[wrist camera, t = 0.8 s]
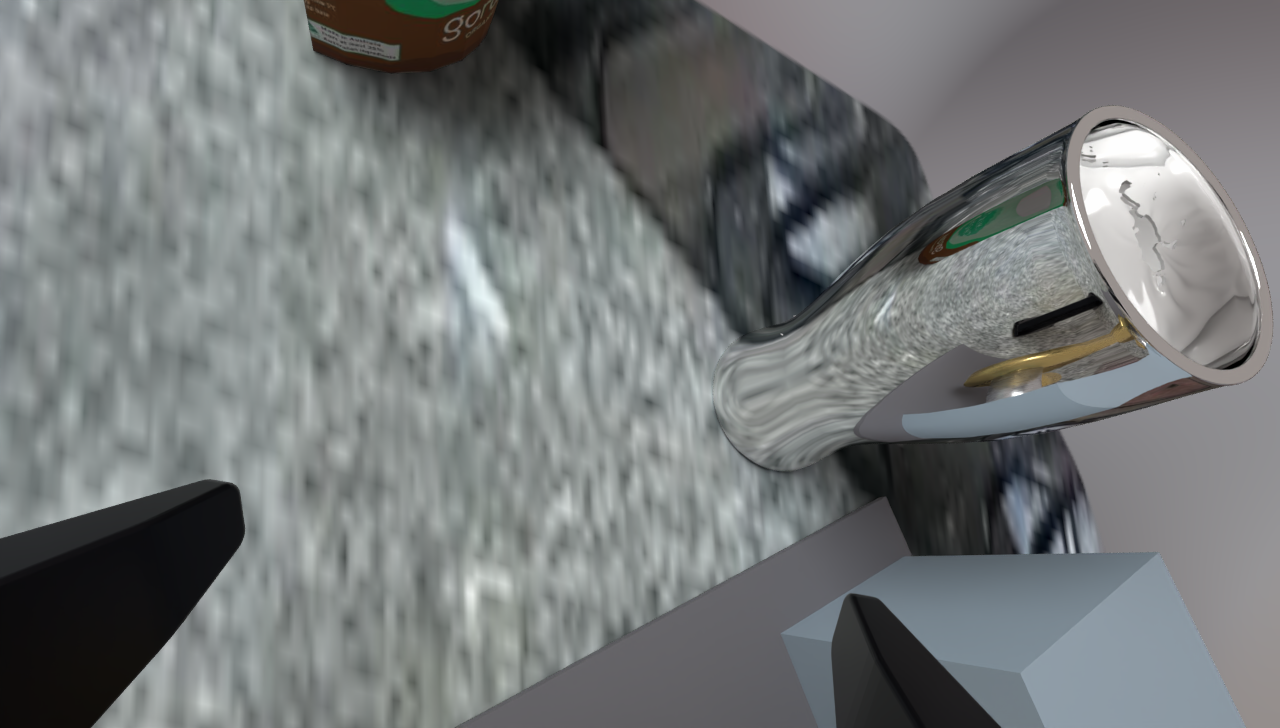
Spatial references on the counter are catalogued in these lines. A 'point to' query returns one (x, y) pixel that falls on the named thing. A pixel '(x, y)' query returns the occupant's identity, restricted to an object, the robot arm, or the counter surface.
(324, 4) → the food container
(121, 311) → the counter surface
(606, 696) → the mat
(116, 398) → the counter surface
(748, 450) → the beer glass
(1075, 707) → the bearing block
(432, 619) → the counter surface
